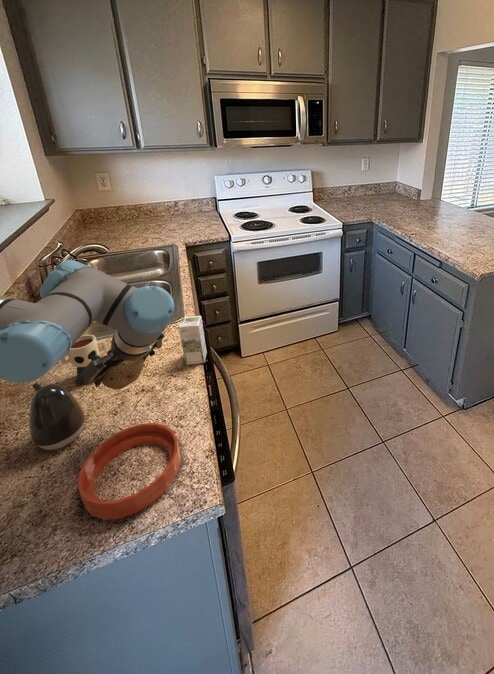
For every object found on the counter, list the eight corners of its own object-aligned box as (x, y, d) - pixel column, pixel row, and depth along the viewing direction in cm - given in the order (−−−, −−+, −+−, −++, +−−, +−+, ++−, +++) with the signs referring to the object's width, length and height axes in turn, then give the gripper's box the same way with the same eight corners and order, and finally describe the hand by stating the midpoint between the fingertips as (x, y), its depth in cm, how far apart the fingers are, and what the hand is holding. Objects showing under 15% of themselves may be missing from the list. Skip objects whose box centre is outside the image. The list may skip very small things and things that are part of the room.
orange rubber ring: (73, 538, 64) (66, 520, 63) (94, 455, 80) (89, 438, 79) (181, 500, 71) (177, 482, 69) (180, 429, 87) (177, 413, 85)
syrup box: (207, 353, 114) (201, 314, 109) (204, 365, 109) (198, 324, 104) (189, 355, 113) (182, 316, 108) (185, 368, 108) (177, 326, 103)
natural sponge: (138, 399, 80) (132, 366, 76) (95, 401, 79) (86, 367, 75) (151, 369, 88) (146, 338, 84) (112, 370, 87) (105, 338, 83)
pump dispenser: (72, 415, 91) (56, 366, 86) (97, 430, 87) (82, 379, 82) (26, 447, 83) (6, 395, 77) (52, 465, 78) (32, 411, 73)
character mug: (70, 395, 98) (58, 355, 94) (67, 381, 103) (55, 343, 99) (115, 377, 104) (105, 339, 100) (110, 365, 110) (100, 328, 105)
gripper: (81, 384, 61) (72, 412, 75) (195, 327, 76) (169, 359, 91) (62, 346, 62) (57, 381, 77) (178, 298, 78) (155, 334, 93)
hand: (118, 369), depth 84 cm, fingers closed on natural sponge, 9 cm apart
